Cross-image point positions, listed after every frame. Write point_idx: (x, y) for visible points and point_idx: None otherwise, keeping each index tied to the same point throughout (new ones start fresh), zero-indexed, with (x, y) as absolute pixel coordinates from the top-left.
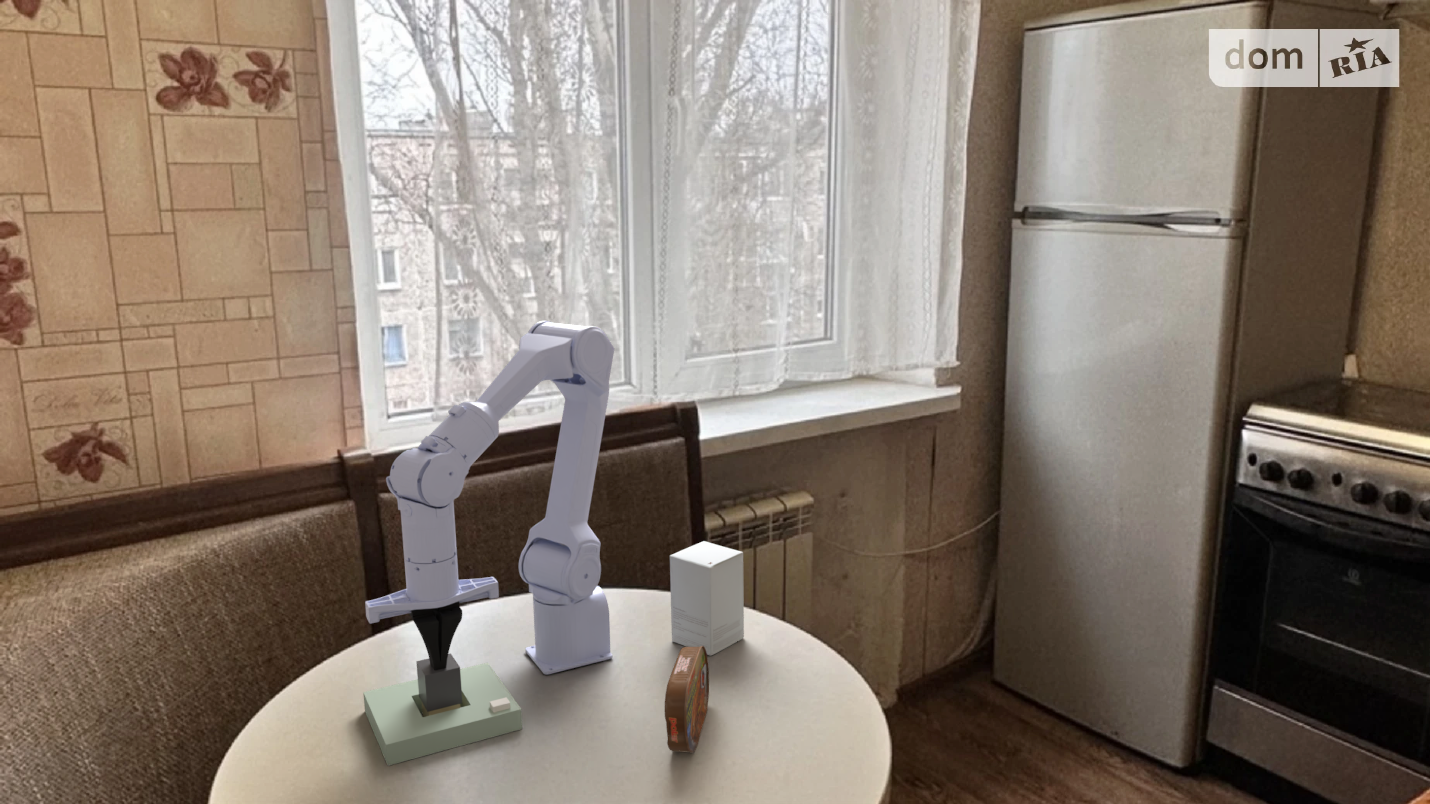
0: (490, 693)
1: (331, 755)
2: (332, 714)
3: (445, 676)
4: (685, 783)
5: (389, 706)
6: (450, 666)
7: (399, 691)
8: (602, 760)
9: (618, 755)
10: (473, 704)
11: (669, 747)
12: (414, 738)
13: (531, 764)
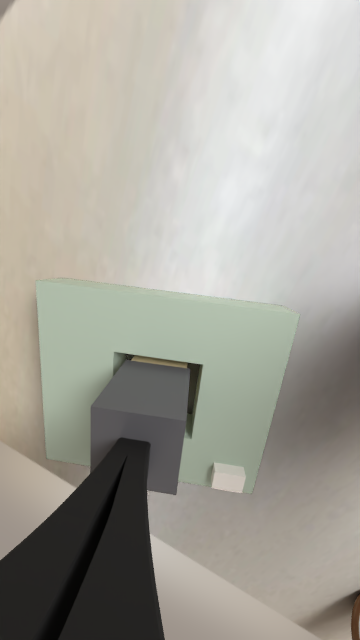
0: (236, 428)
1: (5, 369)
2: (13, 253)
3: None
4: (322, 625)
5: (70, 363)
6: (157, 478)
7: (98, 321)
8: (282, 560)
9: (303, 563)
10: (195, 440)
11: (351, 629)
12: (86, 464)
13: (212, 522)
